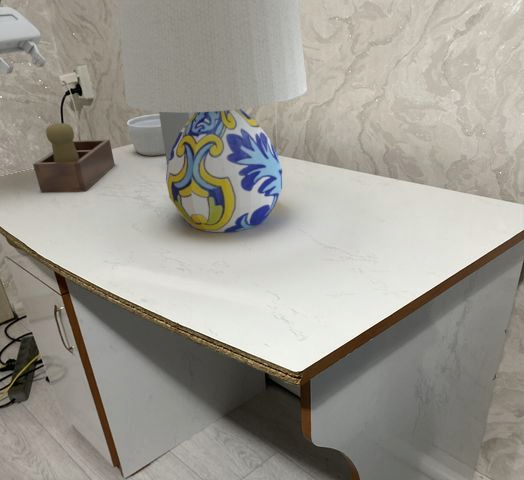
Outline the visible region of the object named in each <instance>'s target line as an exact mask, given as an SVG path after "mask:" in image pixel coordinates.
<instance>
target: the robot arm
mask: <svg viewBox="0 0 524 480" xmlns="http://www.w3.org/2000/svg"><path fill="white" fill-rule="evenodd" d="M1 2H2V0H0V72H1V73H2V74H3V75H9V74H12V72H13V70H14V65H13V64H12V63H10V61H9V60H8V59H7V58H2V57H1V56H3V55H10V54H15V53H22V52H25V53H26V54H27V55H29V56H30V57H31V61H30V62H31V63H32V64H33V65H34V66H35V67H36V68H43V67H44V66H45V65H46V62H47V59H46V58H45V57H44V56H43V55H42V54H41V53H40V50H39V48H38V45H39V44H40V41H41V39H42V35H41V32H40V31H39V29H38V28H37V27H36V26H34V25H33V23H31V22H30V21H29V20H28V19H27V18H26V17H25V16H24V15H22V14H21V13H20V12H19V11H17V10H16V9H14V8H13V7H10V6H4V5H2V4H1Z"/></svg>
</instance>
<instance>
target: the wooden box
mask: <svg viewBox="0 0 524 480" xmlns="http://www.w3.org/2000/svg"><path fill="white" fill-rule="evenodd" d="M73 143H74V145H75V148H76V151H77V153H78V156H79V160H78V161H77V162H54V155H53V151H51V152H50V153H48V154H46V155H45V156H43V157H42V158H40V159H39V160H37V161H36V162H34V163H32V165H33V169H34V173H35V177H36V179H37V182H38V186H39V189H40V190H39V191H40V193H74V192H75V191H76V192H77V193H78V192H87V191H88V190H89V189H91V187H93V186H94V185H95V184H96V183H97V182H99V180H100V179H102V178H103V176H105V175H106V173H109V171H110V170H111V169H113V168H114V167H115V166H116V163H115V159H114V154H113V150H112V149H113V148H112V144H111V141H110V139H89V140H88V139H87V140H86V139H85V140H84V139H83V140H73Z"/></svg>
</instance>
